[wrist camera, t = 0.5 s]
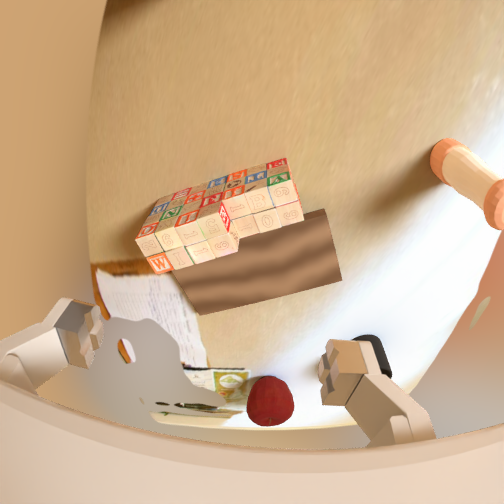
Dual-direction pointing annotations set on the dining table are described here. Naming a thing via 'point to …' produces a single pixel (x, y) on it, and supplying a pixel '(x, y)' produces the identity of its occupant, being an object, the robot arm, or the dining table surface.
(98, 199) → the dining table surface
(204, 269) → the walnut board
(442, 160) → the pepper shaker
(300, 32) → the dining table surface
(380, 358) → the pen holder
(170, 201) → the stack of blocks
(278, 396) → the apple
